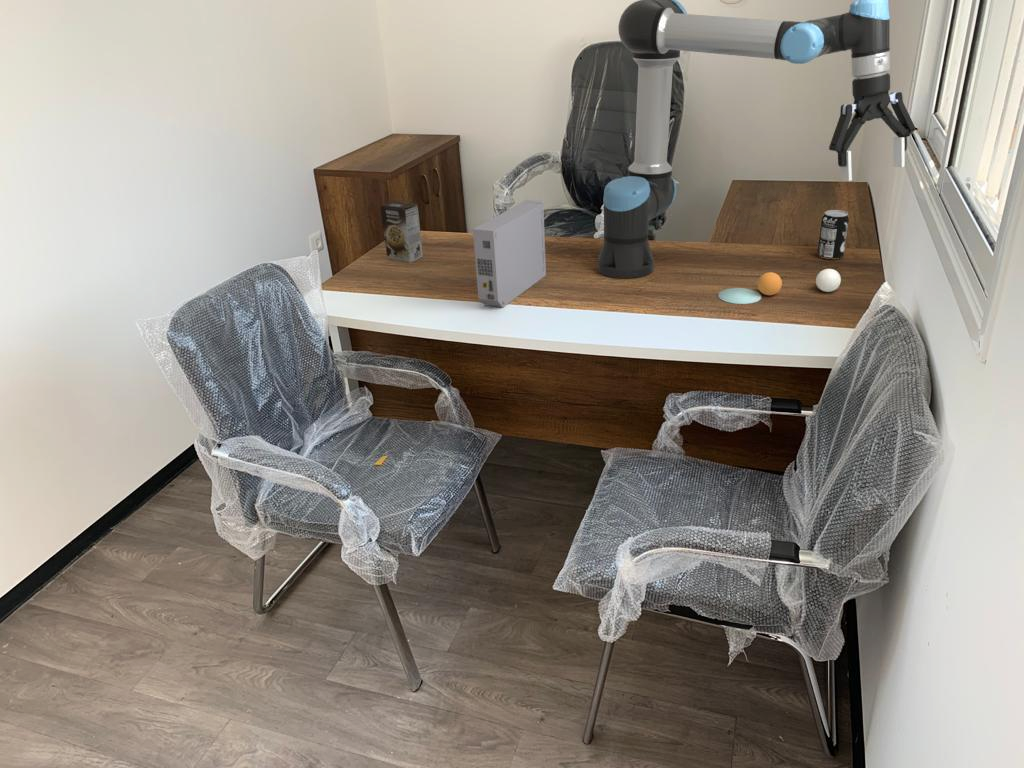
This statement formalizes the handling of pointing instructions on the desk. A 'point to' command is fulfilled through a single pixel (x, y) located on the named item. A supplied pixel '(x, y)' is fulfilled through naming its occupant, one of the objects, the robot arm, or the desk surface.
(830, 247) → the beverage can
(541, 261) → the game console
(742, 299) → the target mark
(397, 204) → the coffee box
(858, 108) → the robot arm
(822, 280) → the cue ball
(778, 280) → the object ball
